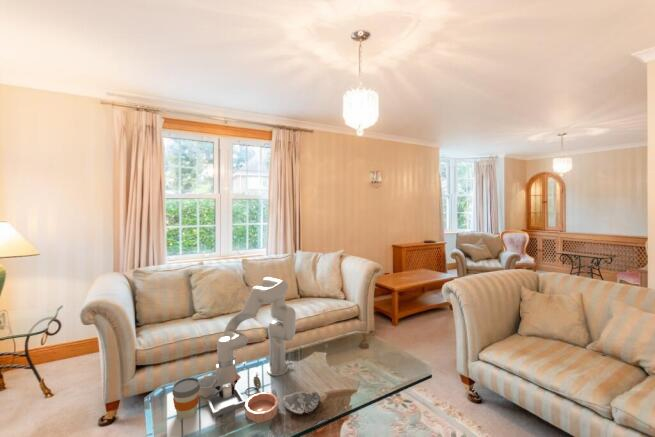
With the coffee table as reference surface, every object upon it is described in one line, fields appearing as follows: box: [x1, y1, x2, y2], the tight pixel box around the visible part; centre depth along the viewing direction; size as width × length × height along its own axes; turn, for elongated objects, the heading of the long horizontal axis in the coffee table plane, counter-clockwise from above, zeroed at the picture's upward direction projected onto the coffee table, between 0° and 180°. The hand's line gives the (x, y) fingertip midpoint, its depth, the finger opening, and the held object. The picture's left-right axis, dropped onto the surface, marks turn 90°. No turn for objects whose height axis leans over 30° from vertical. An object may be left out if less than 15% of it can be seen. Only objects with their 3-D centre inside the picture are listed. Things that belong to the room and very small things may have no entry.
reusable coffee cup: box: [171, 377, 200, 420], centre depth 159 cm, size 13×13×15 cm
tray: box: [206, 387, 246, 418], centre depth 166 cm, size 16×13×3 cm
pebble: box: [222, 383, 232, 398], centre depth 166 cm, size 5×5×5 cm
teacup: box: [199, 374, 219, 399], centre depth 175 cm, size 14×11×8 cm
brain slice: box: [282, 390, 321, 415], centre depth 166 cm, size 20×17×3 cm
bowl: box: [244, 392, 279, 423], centre depth 162 cm, size 16×16×4 cm
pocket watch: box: [244, 372, 262, 396], centre depth 177 cm, size 8×8×10 cm
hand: (226, 394), depth 166 cm, fingers closed on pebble, 4 cm apart
